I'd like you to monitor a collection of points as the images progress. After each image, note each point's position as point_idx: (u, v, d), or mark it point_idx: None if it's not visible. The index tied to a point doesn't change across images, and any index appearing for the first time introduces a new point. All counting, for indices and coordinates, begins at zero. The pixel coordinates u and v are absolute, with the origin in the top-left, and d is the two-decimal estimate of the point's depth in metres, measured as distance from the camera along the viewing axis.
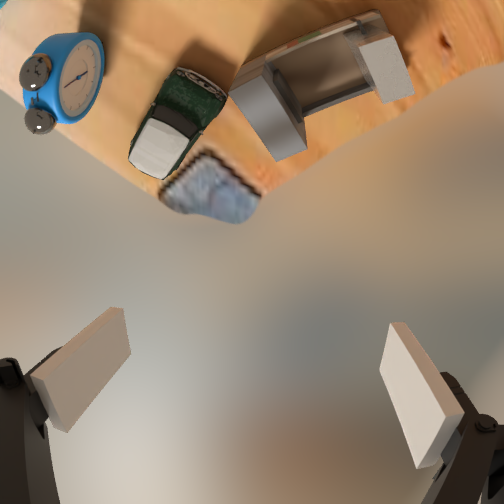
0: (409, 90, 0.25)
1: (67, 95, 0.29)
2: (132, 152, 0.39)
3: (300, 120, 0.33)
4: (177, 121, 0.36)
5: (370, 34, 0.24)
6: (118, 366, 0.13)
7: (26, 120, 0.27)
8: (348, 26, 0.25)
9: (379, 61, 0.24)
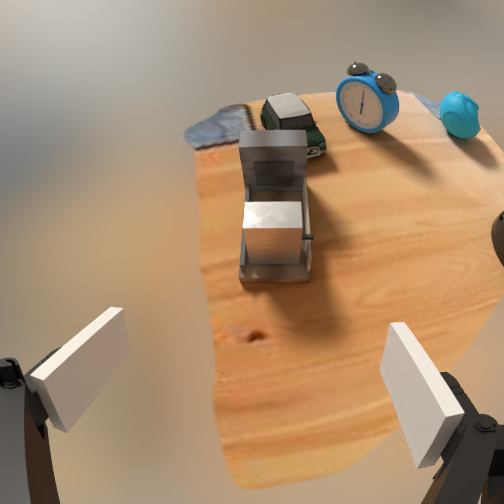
0: (248, 224, 0.36)
1: (358, 90, 0.53)
2: (297, 96, 0.56)
3: (255, 163, 0.45)
4: (296, 121, 0.53)
5: None
6: (118, 366, 0.13)
7: (364, 64, 0.50)
8: (308, 232, 0.42)
9: (283, 210, 0.37)
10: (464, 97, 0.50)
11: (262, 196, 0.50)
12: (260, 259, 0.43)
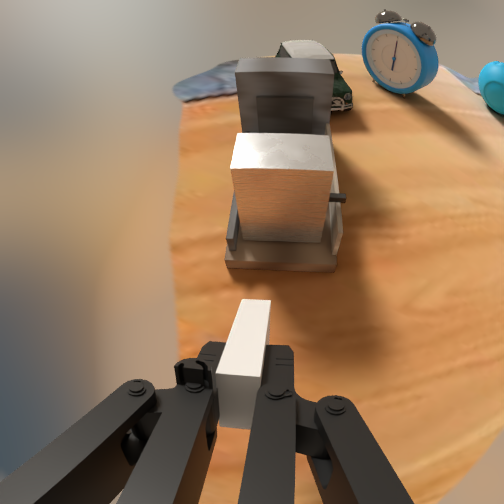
0: (240, 162, 0.20)
1: (389, 41, 0.37)
2: (319, 43, 0.40)
3: (258, 97, 0.29)
4: None
5: None
6: None
7: None
8: None
9: (300, 145, 0.21)
10: None
11: None
12: (259, 231, 0.27)
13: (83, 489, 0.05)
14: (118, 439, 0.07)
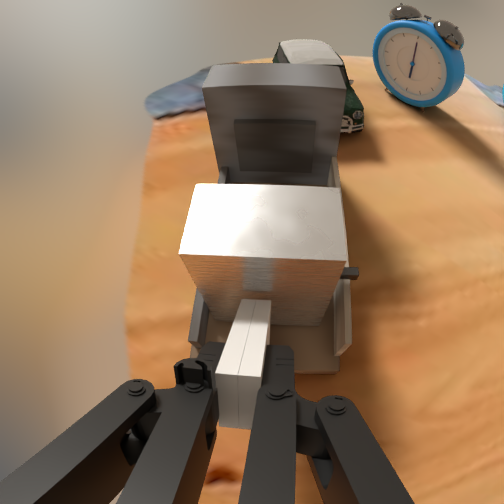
0: (194, 243, 0.13)
1: (407, 42, 0.29)
2: (327, 44, 0.32)
3: (237, 122, 0.21)
4: None
5: None
6: None
7: (415, 8, 0.26)
8: None
9: (294, 208, 0.14)
10: None
11: None
12: None
13: (83, 489, 0.05)
14: (117, 439, 0.07)
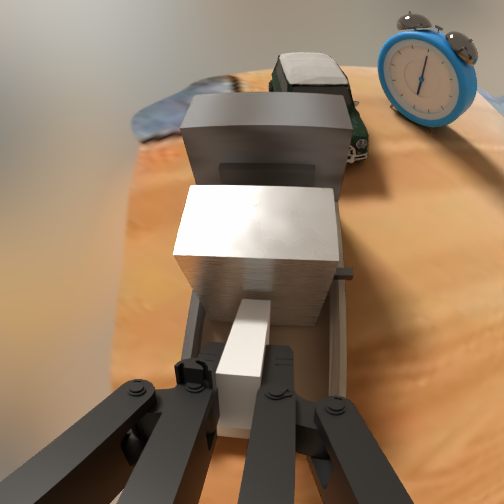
0: (188, 244, 0.13)
1: (416, 55, 0.27)
2: (331, 58, 0.30)
3: (223, 167, 0.19)
4: None
5: None
6: None
7: None
8: (343, 354, 0.16)
9: (287, 209, 0.14)
10: None
11: None
12: (231, 316, 0.19)
13: (83, 489, 0.05)
14: (118, 439, 0.07)
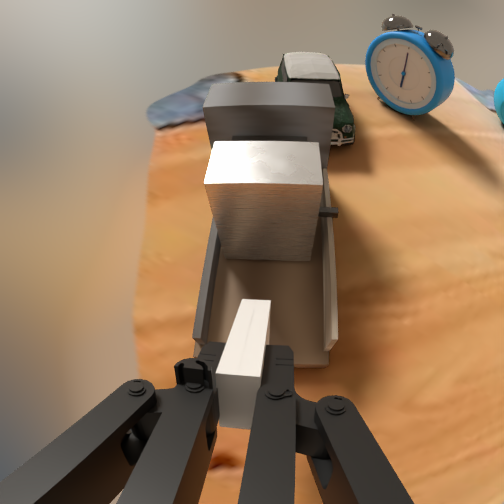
0: (215, 176, 0.18)
1: (398, 52, 0.32)
2: (329, 58, 0.34)
3: (235, 138, 0.23)
4: None
5: None
6: None
7: (406, 18, 0.29)
8: (333, 279, 0.20)
9: (285, 154, 0.19)
10: None
11: None
12: (242, 250, 0.24)
13: (83, 489, 0.05)
14: (118, 439, 0.07)
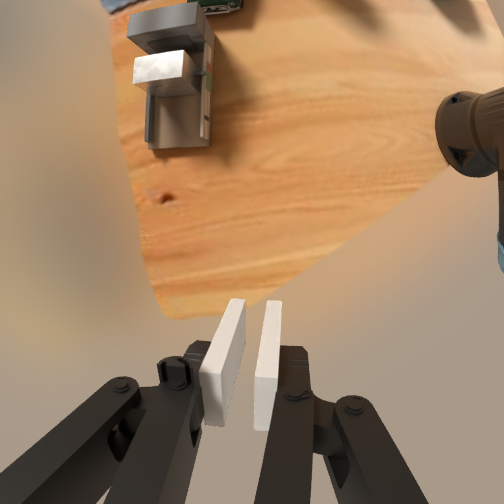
0: (136, 79, 0.33)
1: None
2: None
3: (149, 43, 0.34)
4: None
5: (190, 73, 0.36)
6: (240, 356, 0.15)
7: None
8: (202, 107, 0.39)
9: (166, 61, 0.32)
10: None
11: None
12: (163, 94, 0.40)
13: (72, 485, 0.05)
14: (104, 435, 0.07)
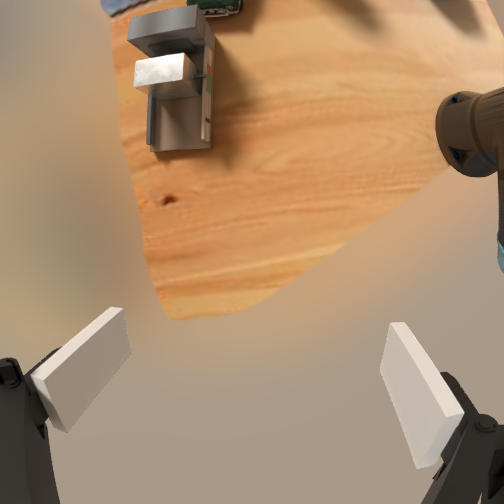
0: (137, 82, 0.34)
1: None
2: None
3: (149, 46, 0.34)
4: None
5: (191, 76, 0.36)
6: (118, 366, 0.13)
7: None
8: (203, 110, 0.39)
9: (167, 64, 0.33)
10: None
11: None
12: (164, 97, 0.41)
13: None
14: None
